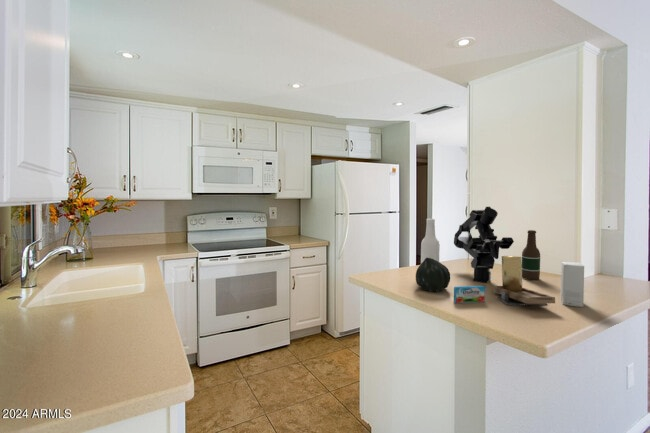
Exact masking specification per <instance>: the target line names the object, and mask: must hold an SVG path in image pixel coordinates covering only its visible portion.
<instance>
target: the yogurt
mask: <svg viewBox="0 0 650 433" xmlns="http://www.w3.org/2000/svg"><path fill="white" fill-rule="evenodd" d="M484 302H486V286H483V285H467V286H466V285H465V286H464V285H463V286H454V287H453V303H455V304H465V303H466V304H468V303H470V304H471V303H473V304H474V303H484Z"/></svg>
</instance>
